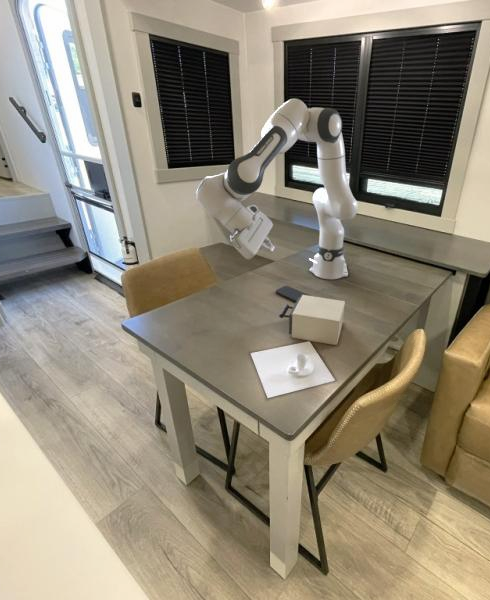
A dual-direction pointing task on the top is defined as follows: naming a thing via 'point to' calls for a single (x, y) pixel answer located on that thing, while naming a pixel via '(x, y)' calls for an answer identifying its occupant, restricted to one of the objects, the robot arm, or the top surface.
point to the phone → (290, 293)
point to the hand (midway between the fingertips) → (272, 251)
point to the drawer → (289, 314)
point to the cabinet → (318, 319)
